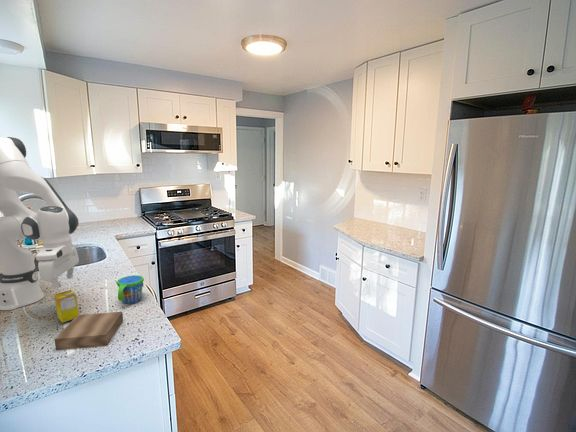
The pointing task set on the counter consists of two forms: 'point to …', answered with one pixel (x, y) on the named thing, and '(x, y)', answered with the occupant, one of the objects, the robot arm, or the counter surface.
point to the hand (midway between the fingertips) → (64, 282)
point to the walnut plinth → (89, 330)
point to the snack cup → (130, 288)
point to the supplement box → (66, 306)
